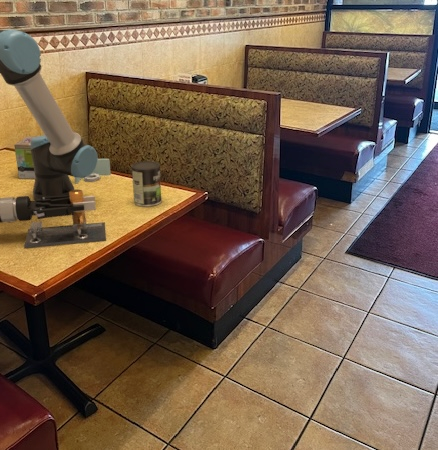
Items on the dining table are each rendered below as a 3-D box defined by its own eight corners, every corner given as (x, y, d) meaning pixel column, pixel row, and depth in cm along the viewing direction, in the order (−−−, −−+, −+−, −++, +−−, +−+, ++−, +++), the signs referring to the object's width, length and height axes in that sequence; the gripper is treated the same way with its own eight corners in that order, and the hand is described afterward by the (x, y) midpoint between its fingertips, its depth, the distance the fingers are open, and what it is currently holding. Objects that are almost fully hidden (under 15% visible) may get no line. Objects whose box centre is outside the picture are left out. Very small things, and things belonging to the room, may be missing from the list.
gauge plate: (28, 231, 160) (27, 221, 159) (105, 225, 165) (104, 214, 164) (24, 248, 150) (22, 237, 148) (106, 240, 155) (105, 229, 153)
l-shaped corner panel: (75, 185, 202) (73, 167, 199) (82, 175, 213) (80, 158, 210) (105, 185, 202) (103, 167, 199) (110, 175, 213) (109, 158, 210)
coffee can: (165, 197, 188) (163, 161, 182) (156, 207, 179) (154, 170, 173) (139, 195, 190) (137, 160, 184) (129, 205, 181) (126, 168, 175)
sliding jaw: (73, 225, 161) (69, 189, 156) (86, 224, 162) (82, 188, 157) (73, 237, 154) (68, 199, 149) (86, 235, 155) (82, 198, 150)
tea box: (42, 179, 207) (37, 144, 201) (18, 179, 207) (12, 144, 201) (54, 168, 220) (49, 135, 214) (31, 168, 220) (26, 135, 214)
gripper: (22, 209, 162) (95, 203, 167) (15, 231, 147) (96, 224, 152) (18, 188, 159) (93, 182, 164) (10, 208, 144) (94, 201, 149)
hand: (94, 202), depth 158 cm, fingers closed on sliding jaw, 4 cm apart
